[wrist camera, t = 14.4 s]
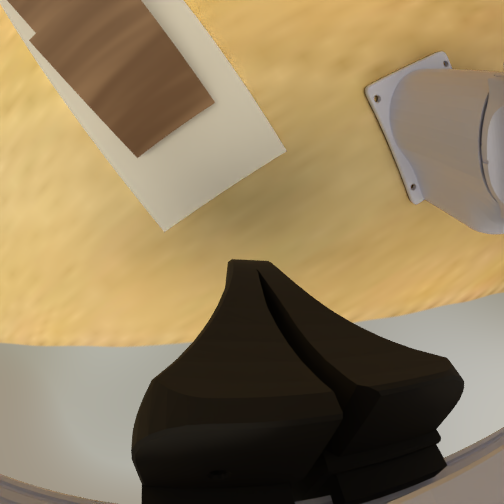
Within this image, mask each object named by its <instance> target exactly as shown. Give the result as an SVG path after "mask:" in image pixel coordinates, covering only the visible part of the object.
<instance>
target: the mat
mask: <svg viewBox="0 0 504 504" xmlns="http://www.w3.org/2000/svg"><path fill="white" fill-rule="evenodd" d="M141 1H142V2H143V3H144V5H145V6H146V7H147V9H148V10H149V11H150V12H151V14H152V15H153V16H154V18H155V19H156V20H157V22H158V23H159V24H160V26H161V27H162V28H163V30H164V31H165V33H166V34H167V35H168V37H169V38H170V39H171V41H172V42H173V43H174V45H175V46H176V48H177V49H178V50H179V52H180V53H181V54H182V56H183V57H184V59H185V60H186V61H187V63H188V64H189V66H190V67H191V68H192V70H193V71H194V73H195V74H196V76H197V77H198V78H199V80H200V81H201V83H202V84H203V86H204V87H205V89H206V90H207V91H208V93H209V94H210V96H211V97H212V99H213V100H214V102H215V103H214V104H213V105H211V106H210V107H208V108H206V109H205V110H203V111H202V112H200V113H199V114H197V115H196V116H194V117H193V118H192V119H190V120H189V121H187V122H186V123H184V124H183V125H181V126H180V127H179V128H177V129H176V130H174V131H173V132H172V133H170V134H169V135H167V136H166V137H165V138H163V139H162V140H161V141H159V142H158V143H157V144H155V145H154V146H153V147H151V148H150V149H149V150H147V151H146V152H145V153H144V154H142V155H141V156H140V157H138V158H137V157H136V156H135V155H134V154H133V153H132V152H131V151H130V150H129V149H128V148H127V147H126V146H125V144H124V143H123V142H122V141H121V140H120V139H119V138H118V137H117V136H116V135H115V134H114V133H113V132H112V131H111V130H110V128H109V127H108V126H107V125H106V124H105V123H104V122H103V121H102V120H101V119H100V118H99V117H98V116H97V115H96V113H95V112H94V111H93V110H92V109H91V108H90V107H89V106H88V105H87V104H86V103H85V102H84V100H83V99H82V98H81V97H80V96H79V95H78V94H77V93H76V92H75V91H74V90H73V89H72V87H71V86H70V85H69V84H68V83H67V82H66V81H65V80H64V79H63V78H62V77H61V75H60V74H59V73H58V72H57V71H56V70H55V69H54V68H53V67H52V66H51V64H50V63H49V62H48V61H47V60H46V59H45V58H44V57H43V56H42V54H41V53H40V52H39V51H38V50H37V49H36V48H35V47H34V46H33V44H32V43H31V42H30V41H29V40H30V39H31V38H32V37H33V36H34V35H35V34H36V33H35V32H34V31H33V29H32V28H31V27H30V26H29V25H28V24H27V23H26V21H25V20H24V19H23V18H22V17H21V16H20V15H19V13H18V12H17V11H16V10H15V9H14V8H13V7H12V5H11V4H10V3H9V2H8V1H7V0H0V4H1V6H2V8H3V9H4V11H5V13H6V14H7V16H8V18H9V19H10V21H11V22H12V24H13V26H14V27H15V29H16V30H17V32H18V34H19V35H20V37H21V38H22V40H23V41H24V43H25V44H26V46H27V48H28V49H29V51H30V52H31V54H32V55H33V57H34V58H35V60H36V61H37V63H38V64H39V66H40V67H41V69H42V70H43V72H44V73H45V75H46V76H47V78H48V79H49V80H50V82H51V83H52V85H53V86H54V88H55V89H56V91H57V92H58V93H59V95H60V96H61V98H62V99H63V101H64V102H65V103H66V105H67V106H68V108H69V109H70V110H71V112H72V113H73V115H74V116H75V117H76V119H77V120H78V121H79V123H80V124H81V126H82V127H83V128H84V130H85V131H86V132H87V134H88V135H89V136H90V138H91V139H92V140H93V142H94V143H95V144H96V146H97V147H98V148H99V150H100V151H101V152H102V154H103V155H104V156H105V158H106V159H107V160H108V162H109V163H110V164H111V166H112V167H113V168H114V169H115V171H116V172H117V173H118V175H119V176H120V177H121V178H122V180H123V181H124V182H125V184H126V185H127V186H128V187H129V189H130V190H131V191H132V192H133V194H134V195H135V196H136V198H137V199H138V200H139V201H140V203H141V204H142V205H143V206H144V208H145V209H146V210H147V211H148V212H149V214H150V215H151V216H152V217H153V219H154V220H155V221H156V222H157V224H158V225H159V226H160V227H161V228H162V230H163V231H164V232H165V231H167V230H168V229H170V228H171V227H172V226H174V225H175V224H177V223H178V222H180V221H181V220H182V219H184V218H185V217H187V216H188V215H190V214H191V213H193V212H194V211H195V210H197V209H198V208H200V207H201V206H203V205H204V204H206V203H207V202H209V201H210V200H212V199H213V198H215V197H216V196H218V195H219V194H221V193H222V192H224V191H225V190H227V189H228V188H230V187H231V186H233V185H234V184H236V183H237V182H239V181H240V180H242V179H243V178H245V177H247V176H248V175H250V174H251V173H253V172H254V171H256V170H257V169H259V168H261V167H262V166H264V165H265V164H267V163H269V162H270V161H272V160H273V159H275V158H277V157H278V156H280V155H281V154H283V153H285V152H286V151H287V150H286V149H285V147H284V146H283V144H282V142H281V141H280V139H279V137H278V136H277V134H276V133H275V131H274V129H273V128H272V126H271V125H270V123H269V121H268V120H267V118H266V117H265V115H264V113H263V112H262V110H261V109H260V107H259V106H258V104H257V103H256V101H255V100H254V98H253V97H252V95H251V93H250V92H249V90H248V89H247V87H246V86H245V84H244V83H243V82H242V80H241V79H240V77H239V76H238V74H237V73H236V71H235V70H234V68H233V67H232V65H231V64H230V63H229V61H228V60H227V58H226V57H225V55H224V54H223V53H222V51H221V50H220V48H219V47H218V46H217V44H216V43H215V41H214V40H213V39H212V37H211V36H210V35H209V33H208V32H207V30H206V29H205V28H204V26H203V25H202V24H201V22H200V21H199V20H198V18H197V17H196V16H195V15H194V13H193V12H192V11H191V9H190V8H189V7H188V5H187V4H186V3H185V2H184V0H141Z"/></svg>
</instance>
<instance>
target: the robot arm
mask: <svg viewBox="0 0 504 504" xmlns="http://www.w3.org/2000/svg"><path fill="white" fill-rule="evenodd" d="M444 62H445V66H444V64H443V63H444ZM503 68H504V62H503ZM365 94H366V96H367V98H368V100H369V102H370V105H371V107H372V109H373V111H374V113H375V115H376V117H377V119H378V121H379V124H380V126H381V128H382V130H383V133H384V135H385V137H386V139H387V142H388V144H389V147H390V149H391V151H392V154H393V156H394V159H395V161H396V164H397V166H398V169H399V171H400V174H401V177H402V179H403V182H404V185H405V187H406V190H407V193H408V196H409V199H410V201H411V202H412V203H414V204H419V203H420V202H422V201H423V200H426V201H428V202H430V203H431V204H433V205H435V206H436V207H438V208H440V209H441V210H443V211H445V212H446V213H448V214H449V215H451V216H453V217H454V218H456V219H457V220H459V221H460V222H462V223H464V224H465V225H467V226H468V227H470V228H471V229H473V230H476V231H478V232H482V233H487V234H504V72H494V71H482V70H466V69H452V67H451V64H450V62H449V59H448V57H447V55H446V53H444V52H442V51H440V52H436V53H434V54H432V55H429V56H427V57H425V58H423V59H421V60H418V61H416V62H414V63H412V64H410V65H408V66H406V67H404V68H402V69H399V70H397V71H395V72H393V73H391V74H389V75H387V76H385V77H383V78H381V79H379V80H377V81H375V82H373V83H371V84H370V85H368V86H367V87H366V89H365ZM375 95H376V96H377V97H378V101H377V102H375V101H374V96H375ZM412 184H413V188H412V189H411V185H412ZM463 389H464V381H463V379H462V378H461V376H460V375H459V373H458V372H457V370H456V369H455V368H454V366H453V365H452V364H451V362H450V361H449V360H448V359H447V358H446V357H441V356H438V355H434V354H430V353H427V352H423V351H419V350H415V349H412V348H409V347H406V346H403V345H401V344H398V343H395V342H392V341H390V340H387V339H385V338H382V337H380V336H378V335H376V334H374V333H371V332H369V331H367V330H365V329H363V328H361V327H359V326H357V325H355V324H353V323H352V322H350V321H348V320H346V319H345V318H343V317H341V316H340V315H338V314H336V313H335V312H333V311H332V310H330V309H329V308H327V307H326V306H324V305H323V304H321V303H320V302H319V301H317V300H316V299H314V298H313V297H312V296H310V295H309V294H308V293H307V292H305V291H304V290H303V289H302V288H300V287H299V286H298V285H297V284H296V283H294V282H293V281H292V280H291V279H290V278H289V277H287V276H286V275H285V274H284V273H283V272H282V271H280V270H279V269H278V268H277V267H276V266H274V265H273V264H272V263H271V262H269V261H255V260H235V259H232V260H230V261H229V262H228V267H227V276H226V286H225V290H224V292H223V295H222V297H221V299H220V301H219V303H218V306H217V308H216V309H215V311H214V313H213V315H212V316H211V318H210V320H209V321H208V323H207V324H206V326H205V327H204V328H203V330H202V331H201V333H200V334H199V335H198V337H197V338H196V339H195V340H194V342H193V343H192V344H191V345H190V346H189V347H188V348H187V349H186V350H185V351H184V352H183V353H182V355H180V357H179V358H178V359H176V360H175V361H174V362H173V363H172V364H171V365H170V366H169V367H167V368H166V369H165V370H164V371H162V372H161V373H160V374H159V375H158V376H156V377H155V378H154V379H153V380H152V381H151V383H150V385H149V387H148V389H147V391H146V393H145V395H144V398H143V400H142V403H141V405H140V407H139V411H138V413H137V416H136V420H135V424H134V428H133V435H132V450H131V451H132V452H131V453H132V461H133V463H134V466H135V468H136V471H137V473H138V476H139V478H140V480H141V483H142V504H504V427H503V428H501V429H500V430H498V431H496V432H495V433H493V434H491V435H489V436H488V437H486V438H484V439H482V440H480V441H478V442H476V443H474V444H472V445H470V446H468V447H466V448H464V449H462V450H460V451H458V452H456V453H454V454H452V455H449V456H447V457H445V458H443V456H442V454H441V452H440V451H439V449H438V447H437V445H436V444H437V443H439V442H440V440H441V437H440V435H439V433H438V431H437V430H436V429H437V428H438V426H439V425H440V424H441V423H442V422H443V420H444V419H445V418H446V417H447V416H448V414H449V413H450V412H451V411H452V409H453V408H454V407H455V405H456V404H457V402H458V401H459V399H460V397H461V395H462V392H463ZM0 504H116V503H109V502H103V501H97V500H91V499H86V498H81V497H76V496H72V495H67V494H63V493H59V492H55V491H52V490H48V489H44V488H40V487H37V486H34V485H30V484H27V483H24V482H21V481H18V480H15V479H12V478H9V477H7V476H4V475H1V474H0Z"/></svg>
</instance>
